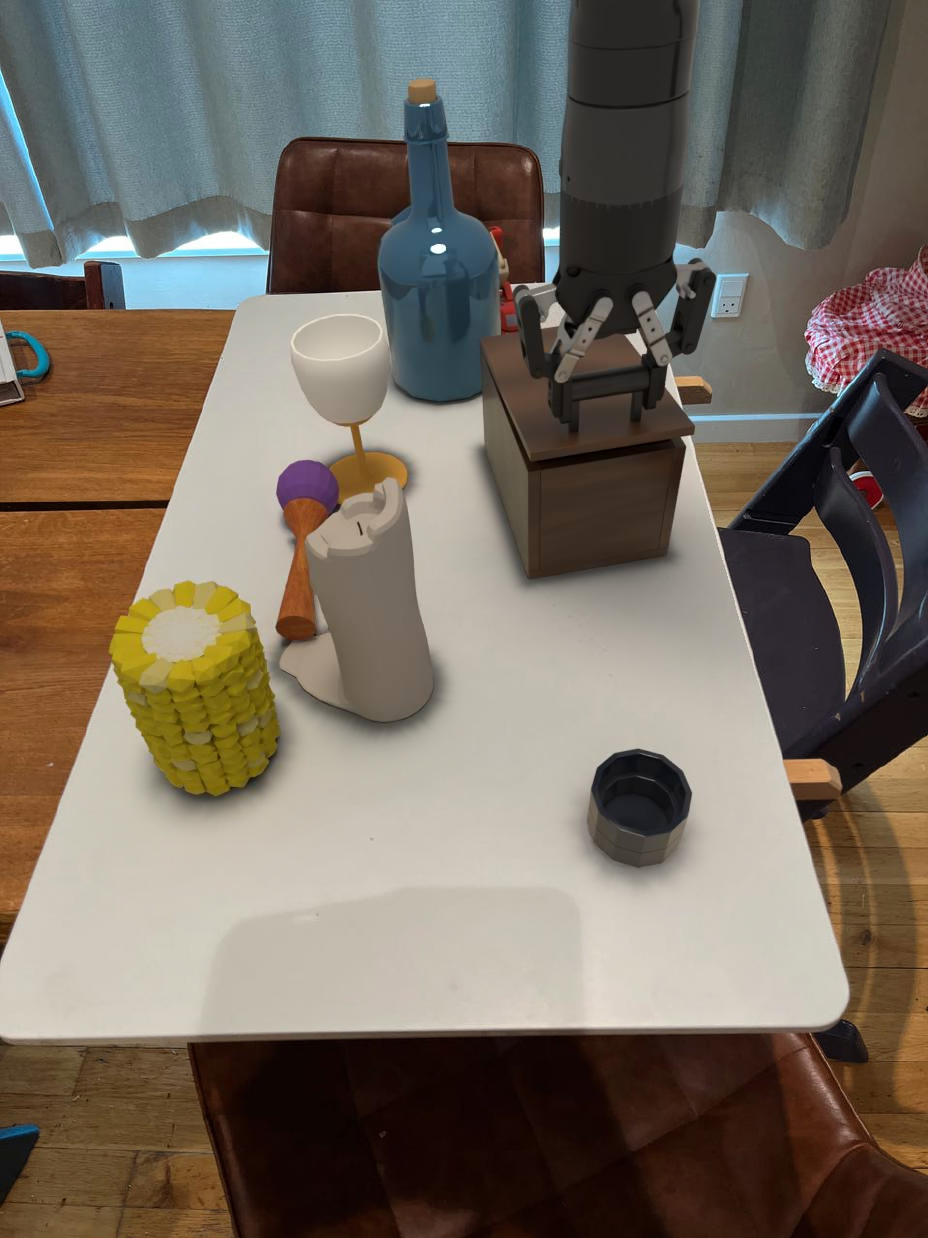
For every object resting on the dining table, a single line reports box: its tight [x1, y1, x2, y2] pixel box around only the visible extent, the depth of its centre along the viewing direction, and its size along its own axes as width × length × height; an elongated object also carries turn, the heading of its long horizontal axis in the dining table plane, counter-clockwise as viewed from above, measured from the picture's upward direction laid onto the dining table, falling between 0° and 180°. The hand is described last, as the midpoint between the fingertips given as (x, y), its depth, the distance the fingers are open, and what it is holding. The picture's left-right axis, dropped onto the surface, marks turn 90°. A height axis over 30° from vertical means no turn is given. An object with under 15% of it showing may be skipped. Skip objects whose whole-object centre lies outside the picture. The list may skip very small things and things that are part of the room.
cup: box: [289, 313, 409, 506], centre depth 76 cm, size 9×9×16 cm
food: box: [108, 579, 281, 797], centre depth 55 cm, size 15×12×10 cm
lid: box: [479, 325, 696, 462], centre depth 66 cm, size 21×13×5 cm, turn 10°
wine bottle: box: [375, 77, 501, 403], centre depth 83 cm, size 14×13×30 cm
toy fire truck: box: [487, 225, 518, 335], centre depth 99 cm, size 3×14×10 cm, turn 14°
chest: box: [480, 348, 687, 580], centre depth 73 cm, size 20×13×12 cm, turn 10°
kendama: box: [275, 459, 339, 641], centre depth 72 cm, size 6×6×20 cm
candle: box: [279, 477, 435, 723], centre depth 57 cm, size 7×14×20 cm, turn 65°
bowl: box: [586, 747, 693, 869], centre depth 52 cm, size 6×6×5 cm
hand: (605, 410), depth 61 cm, fingers closed on lid, 6 cm apart
